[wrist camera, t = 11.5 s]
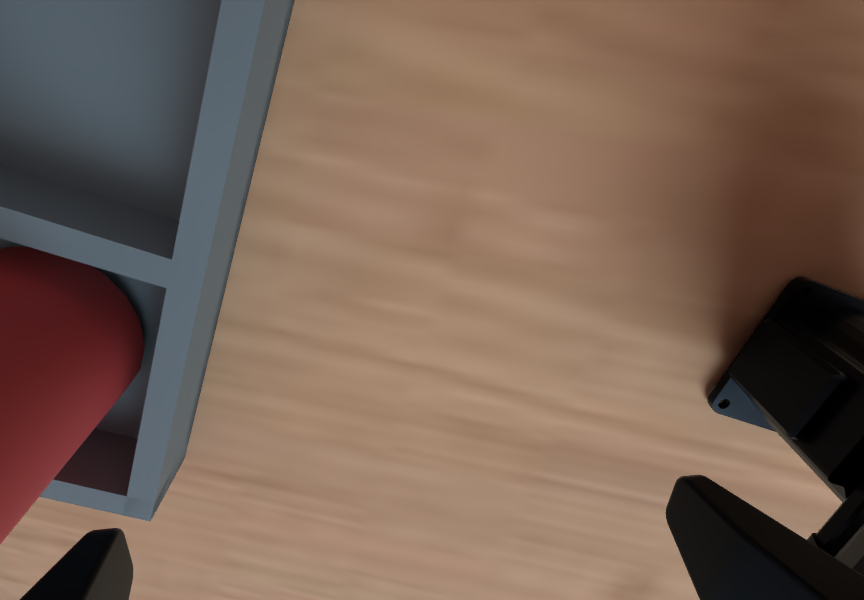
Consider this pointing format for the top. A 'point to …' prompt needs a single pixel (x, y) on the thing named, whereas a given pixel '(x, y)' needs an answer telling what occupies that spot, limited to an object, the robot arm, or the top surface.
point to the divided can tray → (137, 192)
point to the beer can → (56, 367)
